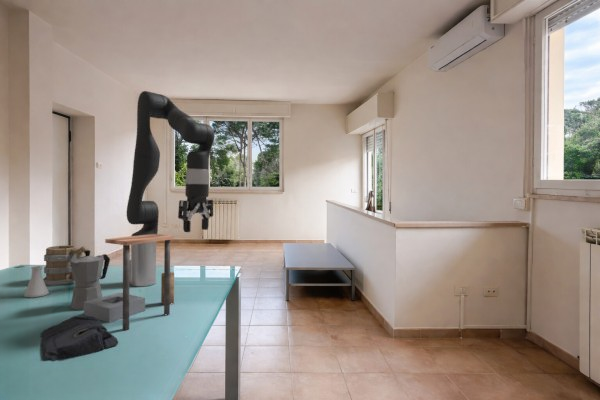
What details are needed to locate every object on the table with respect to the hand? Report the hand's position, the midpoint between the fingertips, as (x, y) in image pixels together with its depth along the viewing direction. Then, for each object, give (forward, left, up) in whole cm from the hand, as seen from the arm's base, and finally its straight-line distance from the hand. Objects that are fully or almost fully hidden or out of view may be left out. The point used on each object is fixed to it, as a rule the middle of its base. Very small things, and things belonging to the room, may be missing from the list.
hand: (196, 230), depth 125 cm
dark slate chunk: (-2, -39, -25) cm, 46 cm away
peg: (-7, -6, -24) cm, 26 cm away
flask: (-53, -23, -25) cm, 62 cm away
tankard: (-62, -7, -24) cm, 67 cm away
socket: (-13, -21, -24) cm, 34 cm away
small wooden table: (-1, -21, -24) cm, 32 cm away
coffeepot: (-27, -20, -24) cm, 41 cm away
